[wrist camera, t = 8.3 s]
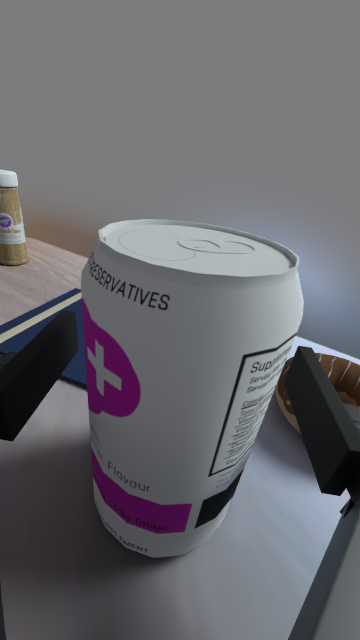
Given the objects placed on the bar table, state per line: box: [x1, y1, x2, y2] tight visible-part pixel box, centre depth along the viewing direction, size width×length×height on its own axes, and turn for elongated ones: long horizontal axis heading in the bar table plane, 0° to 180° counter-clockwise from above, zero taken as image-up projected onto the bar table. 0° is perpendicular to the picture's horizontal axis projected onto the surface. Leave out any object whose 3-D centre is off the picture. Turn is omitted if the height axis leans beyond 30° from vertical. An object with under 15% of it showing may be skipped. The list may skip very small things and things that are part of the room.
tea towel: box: [0, 288, 87, 388], centre depth 30 cm, size 20×15×1 cm
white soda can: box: [81, 219, 304, 558], centre depth 14 cm, size 8×8×15 cm
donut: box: [275, 353, 360, 434], centre depth 23 cm, size 11×11×4 cm
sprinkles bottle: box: [0, 170, 29, 265], centre depth 42 cm, size 5×5×13 cm
